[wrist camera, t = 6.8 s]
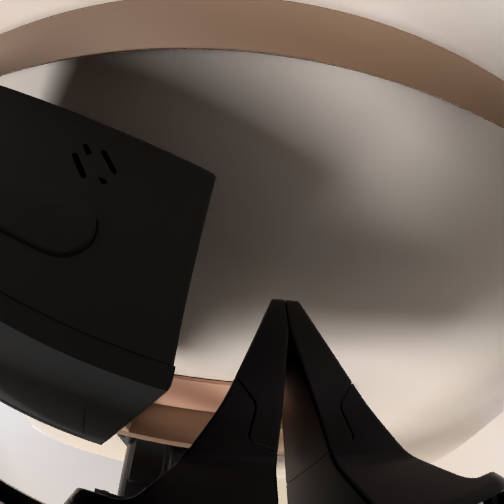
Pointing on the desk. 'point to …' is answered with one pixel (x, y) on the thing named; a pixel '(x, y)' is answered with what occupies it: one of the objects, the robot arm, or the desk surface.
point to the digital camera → (90, 266)
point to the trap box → (256, 41)
